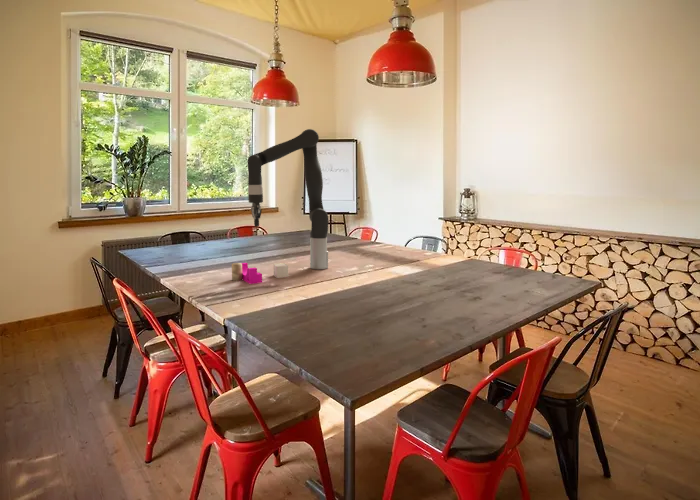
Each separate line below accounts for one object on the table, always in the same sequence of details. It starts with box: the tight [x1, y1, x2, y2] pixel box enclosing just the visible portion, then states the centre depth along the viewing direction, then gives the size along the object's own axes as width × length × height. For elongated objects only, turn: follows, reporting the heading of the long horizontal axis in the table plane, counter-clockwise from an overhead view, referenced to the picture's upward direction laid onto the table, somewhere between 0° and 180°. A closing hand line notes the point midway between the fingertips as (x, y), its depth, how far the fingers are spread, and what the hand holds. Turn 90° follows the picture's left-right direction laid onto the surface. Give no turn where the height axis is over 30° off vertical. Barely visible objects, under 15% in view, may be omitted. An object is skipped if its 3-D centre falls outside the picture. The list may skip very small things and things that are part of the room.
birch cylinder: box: [231, 262, 243, 282], centre depth 226 cm, size 5×5×8 cm
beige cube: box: [272, 262, 289, 279], centre depth 235 cm, size 6×6×6 cm
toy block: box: [241, 262, 263, 285], centre depth 226 cm, size 15×6×8 cm, turn 33°
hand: (256, 226), depth 244 cm, fingers closed
